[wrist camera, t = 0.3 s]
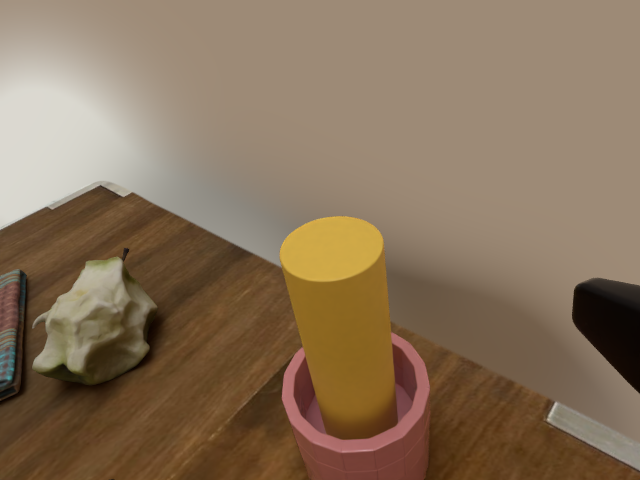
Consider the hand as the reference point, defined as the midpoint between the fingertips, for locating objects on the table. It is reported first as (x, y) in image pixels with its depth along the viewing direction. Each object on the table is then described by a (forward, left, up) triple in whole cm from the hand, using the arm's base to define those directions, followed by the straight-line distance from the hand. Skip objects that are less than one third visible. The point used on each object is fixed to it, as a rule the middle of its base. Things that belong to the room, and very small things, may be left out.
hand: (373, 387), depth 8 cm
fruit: (+24, +12, -18) cm, 33 cm away
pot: (+8, -2, -18) cm, 20 cm away
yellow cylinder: (+8, -2, -15) cm, 17 cm away
